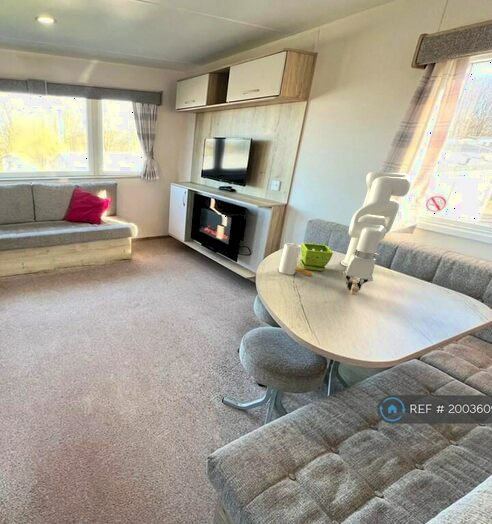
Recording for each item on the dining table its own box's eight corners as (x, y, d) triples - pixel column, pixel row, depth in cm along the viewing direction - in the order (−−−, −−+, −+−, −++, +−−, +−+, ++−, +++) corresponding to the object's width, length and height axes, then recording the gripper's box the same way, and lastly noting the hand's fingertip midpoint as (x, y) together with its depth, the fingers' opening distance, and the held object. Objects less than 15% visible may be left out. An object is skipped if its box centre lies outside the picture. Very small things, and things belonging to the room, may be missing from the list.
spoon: (360, 296, 144) (362, 289, 143) (347, 293, 146) (349, 287, 145) (356, 283, 157) (358, 277, 155) (345, 281, 159) (347, 274, 157)
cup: (296, 275, 172) (302, 248, 166) (280, 273, 173) (286, 246, 167) (292, 269, 179) (298, 243, 173) (277, 268, 181) (283, 242, 175)
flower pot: (296, 261, 192) (301, 242, 187) (321, 264, 189) (327, 245, 184) (301, 270, 179) (306, 249, 175) (327, 273, 176) (333, 252, 171)
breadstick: (292, 269, 179) (293, 266, 179) (295, 269, 180) (295, 266, 180) (309, 276, 171) (310, 273, 171) (311, 275, 172) (312, 272, 172)
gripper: (384, 255, 142) (371, 290, 149) (343, 248, 149) (333, 283, 156) (387, 260, 136) (373, 297, 143) (344, 253, 143) (334, 289, 150)
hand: (352, 289), depth 149 cm, fingers closed on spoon, 2 cm apart
